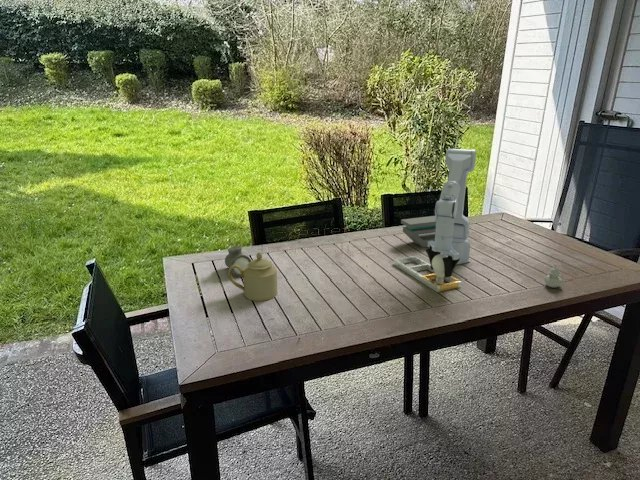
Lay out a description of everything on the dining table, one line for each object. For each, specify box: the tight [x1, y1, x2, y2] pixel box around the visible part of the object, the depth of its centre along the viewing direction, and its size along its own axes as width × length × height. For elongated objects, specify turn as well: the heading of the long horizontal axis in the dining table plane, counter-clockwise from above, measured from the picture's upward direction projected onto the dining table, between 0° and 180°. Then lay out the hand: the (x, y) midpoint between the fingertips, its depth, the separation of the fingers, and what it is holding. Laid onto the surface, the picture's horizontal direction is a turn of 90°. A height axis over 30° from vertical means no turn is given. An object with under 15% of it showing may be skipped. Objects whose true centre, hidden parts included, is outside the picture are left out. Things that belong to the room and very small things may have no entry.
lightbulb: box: [432, 253, 448, 285], centre depth 153 cm, size 6×6×11 cm
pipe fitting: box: [224, 245, 252, 278], centre depth 167 cm, size 12×8×10 cm
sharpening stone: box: [400, 215, 436, 248], centre depth 195 cm, size 25×8×11 cm, turn 109°
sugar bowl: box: [227, 252, 278, 302], centre depth 146 cm, size 15×11×15 cm
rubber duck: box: [544, 265, 564, 289], centre depth 151 cm, size 5×7×8 cm
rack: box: [393, 255, 462, 293], centre depth 162 cm, size 10×27×2 cm, turn 23°
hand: (440, 272), depth 154 cm, fingers open, 7 cm apart
